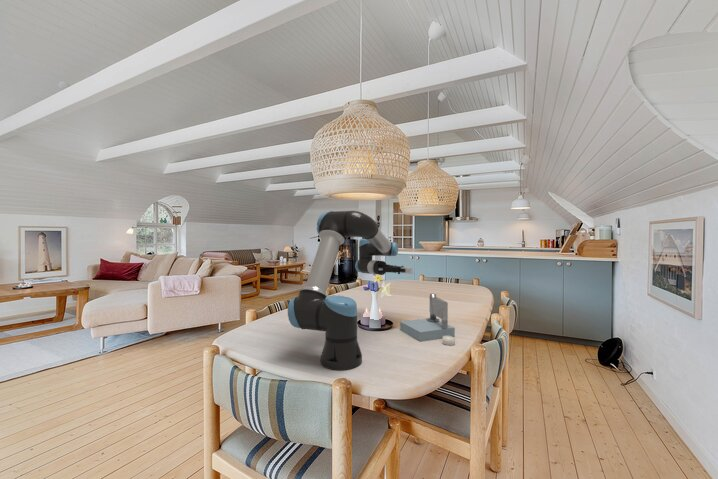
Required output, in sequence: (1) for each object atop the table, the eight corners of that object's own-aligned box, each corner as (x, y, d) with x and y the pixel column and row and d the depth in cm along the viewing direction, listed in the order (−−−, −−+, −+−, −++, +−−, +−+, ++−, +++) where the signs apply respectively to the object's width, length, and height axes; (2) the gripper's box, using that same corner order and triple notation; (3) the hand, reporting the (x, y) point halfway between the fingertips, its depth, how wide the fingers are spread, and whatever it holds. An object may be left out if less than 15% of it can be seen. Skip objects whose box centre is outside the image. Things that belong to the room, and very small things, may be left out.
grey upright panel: (442, 328, 137) (442, 300, 137) (428, 318, 153) (428, 293, 153) (448, 327, 138) (448, 300, 138) (434, 318, 154) (434, 293, 153)
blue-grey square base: (455, 336, 140) (455, 326, 140) (420, 341, 134) (420, 330, 134) (432, 325, 157) (432, 316, 157) (400, 329, 150) (400, 320, 150)
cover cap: (441, 335, 134) (441, 340, 134) (443, 339, 129) (443, 345, 129) (453, 336, 133) (453, 341, 133) (456, 340, 128) (455, 346, 128)
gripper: (386, 273, 172) (420, 277, 154) (368, 275, 163) (402, 279, 145) (386, 260, 172) (420, 262, 154) (368, 261, 163) (402, 263, 145)
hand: (411, 270), depth 150 cm, fingers closed
